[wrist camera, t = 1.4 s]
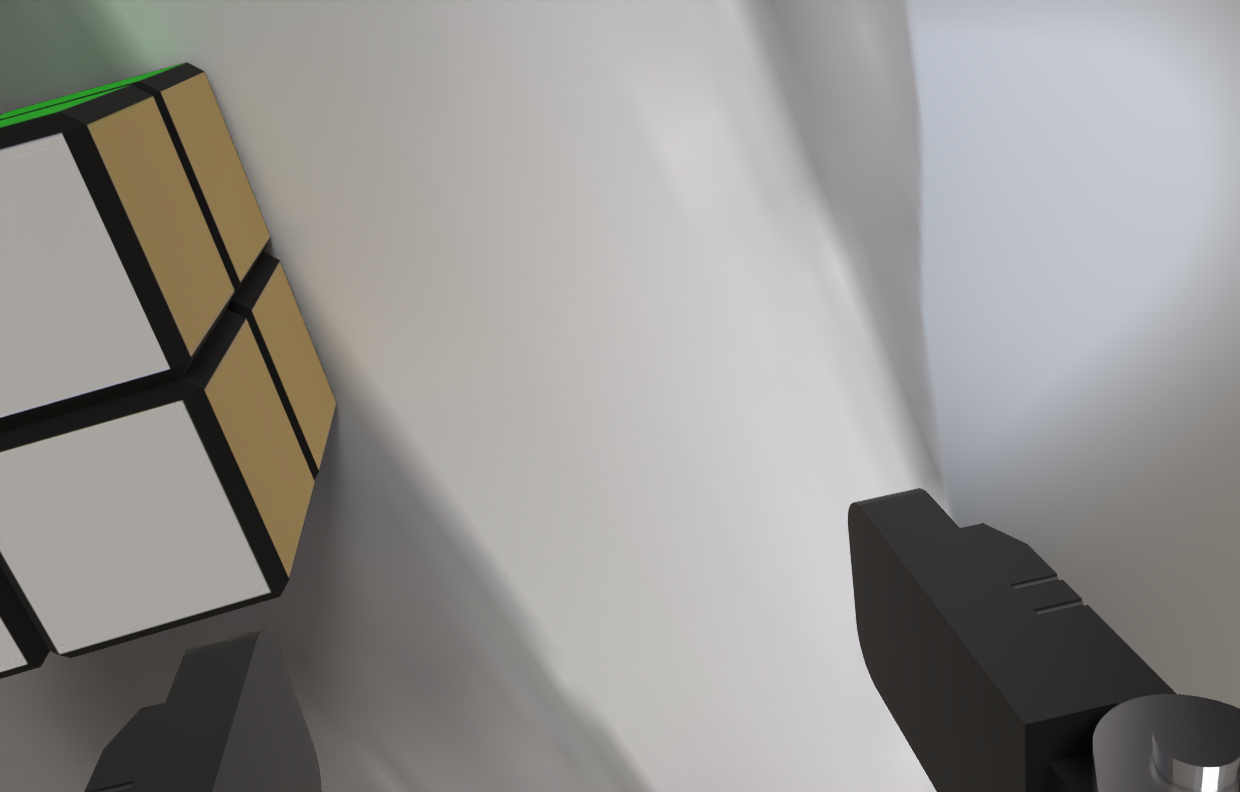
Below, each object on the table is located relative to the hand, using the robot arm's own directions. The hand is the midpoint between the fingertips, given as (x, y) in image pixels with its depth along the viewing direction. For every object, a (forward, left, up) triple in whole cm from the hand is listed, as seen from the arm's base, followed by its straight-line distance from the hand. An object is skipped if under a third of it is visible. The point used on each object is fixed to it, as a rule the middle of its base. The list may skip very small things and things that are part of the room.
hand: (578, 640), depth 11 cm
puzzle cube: (0, -11, -20) cm, 23 cm away
